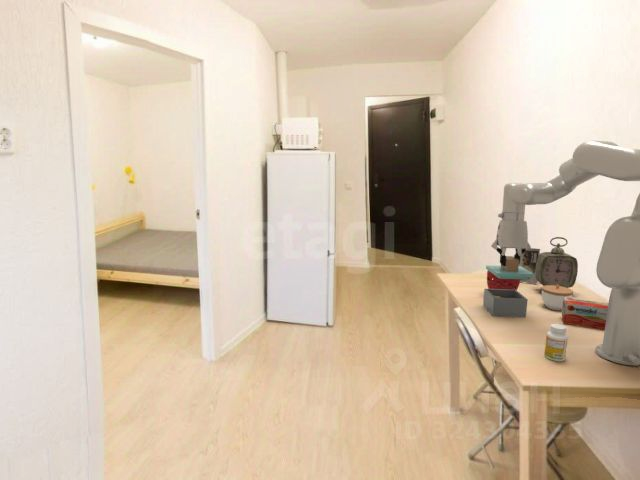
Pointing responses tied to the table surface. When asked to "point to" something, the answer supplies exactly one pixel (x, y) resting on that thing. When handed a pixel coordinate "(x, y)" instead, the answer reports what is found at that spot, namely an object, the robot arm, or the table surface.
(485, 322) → the table surface
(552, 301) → the lidded jar
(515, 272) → the teal base with post
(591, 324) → the medicine box
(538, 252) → the coffee box
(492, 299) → the storage box
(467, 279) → the table surface
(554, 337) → the supplement bottle
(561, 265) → the tabletop clock
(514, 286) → the plant pot
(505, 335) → the table surface
